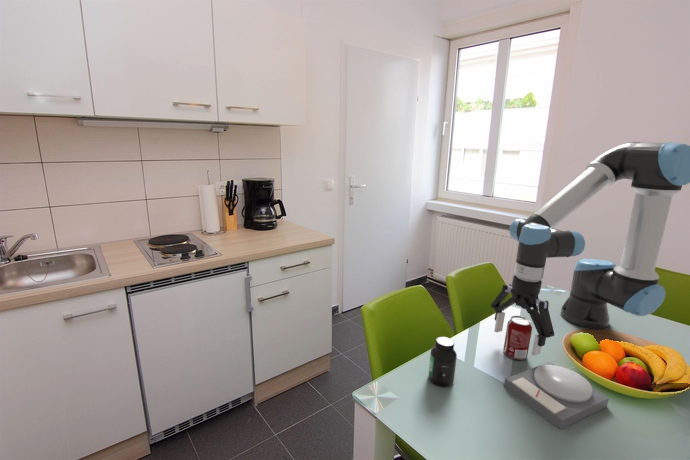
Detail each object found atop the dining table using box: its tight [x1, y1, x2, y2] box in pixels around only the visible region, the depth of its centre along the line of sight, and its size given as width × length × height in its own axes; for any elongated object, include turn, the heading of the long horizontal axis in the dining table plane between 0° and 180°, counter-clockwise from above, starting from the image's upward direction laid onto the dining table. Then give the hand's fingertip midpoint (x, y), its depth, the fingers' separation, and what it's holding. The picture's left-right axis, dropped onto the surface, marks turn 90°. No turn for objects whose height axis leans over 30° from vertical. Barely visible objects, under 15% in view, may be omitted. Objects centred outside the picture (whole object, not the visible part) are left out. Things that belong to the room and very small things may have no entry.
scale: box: [503, 361, 610, 430], centre depth 92 cm, size 18×16×4 cm
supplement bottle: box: [428, 336, 458, 388], centre depth 96 cm, size 7×7×12 cm
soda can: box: [503, 315, 533, 361], centre depth 108 cm, size 7×7×12 cm
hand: (516, 342), depth 109 cm, fingers open, 13 cm apart
